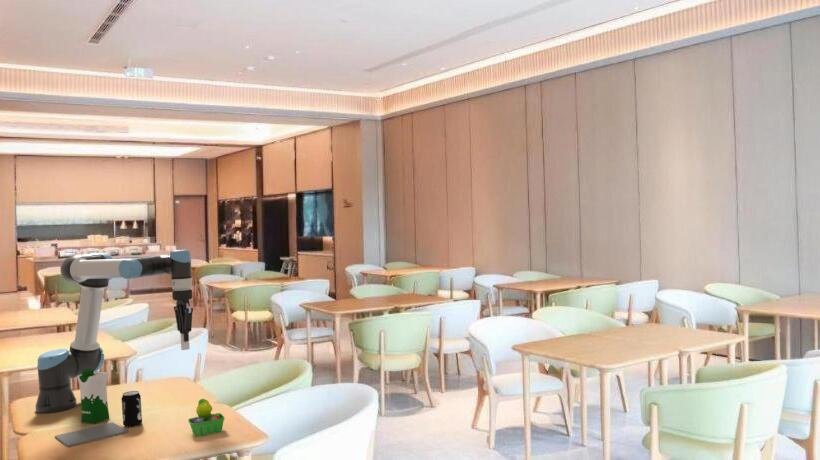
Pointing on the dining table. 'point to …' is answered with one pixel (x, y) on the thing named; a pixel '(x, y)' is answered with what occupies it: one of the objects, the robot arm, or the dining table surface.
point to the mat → (90, 434)
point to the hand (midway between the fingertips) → (185, 349)
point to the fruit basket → (206, 420)
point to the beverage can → (131, 409)
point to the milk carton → (93, 396)
